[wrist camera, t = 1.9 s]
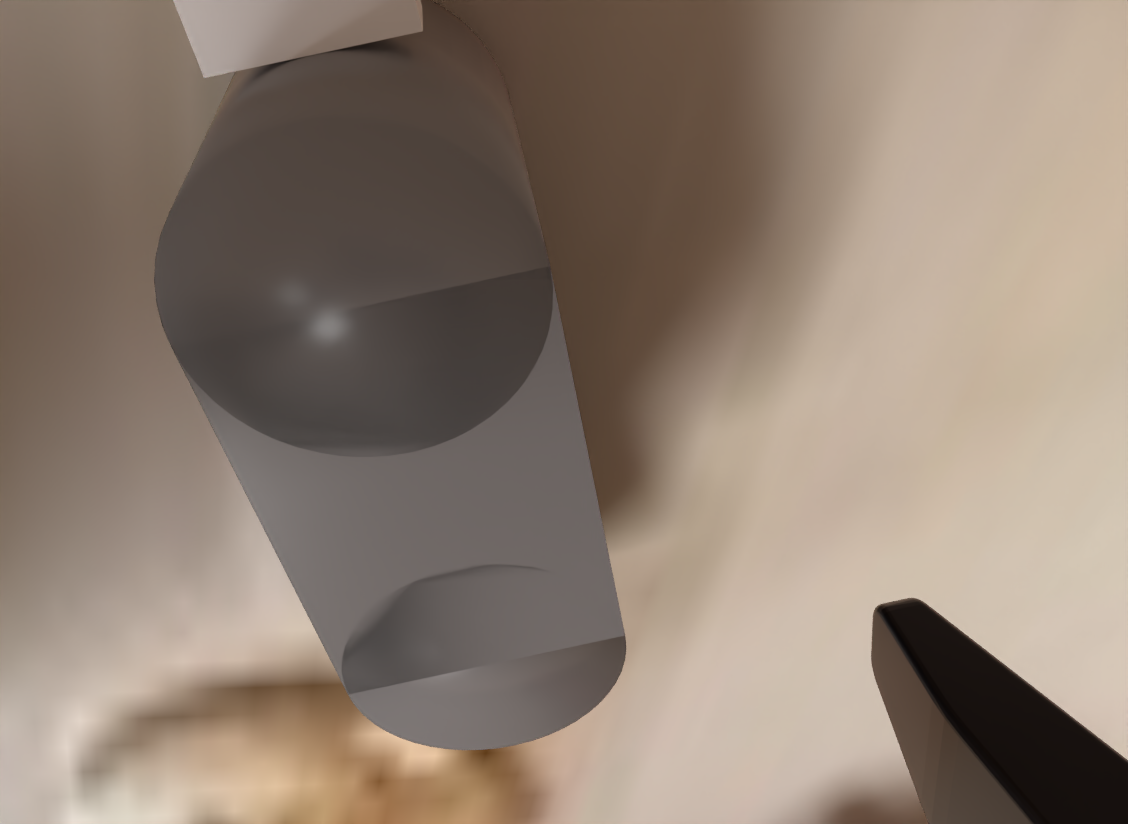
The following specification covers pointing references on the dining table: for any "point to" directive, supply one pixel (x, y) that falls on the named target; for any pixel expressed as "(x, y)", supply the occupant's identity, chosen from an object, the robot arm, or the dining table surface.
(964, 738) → the robot arm
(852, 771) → the dining table surface
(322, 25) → the plug
